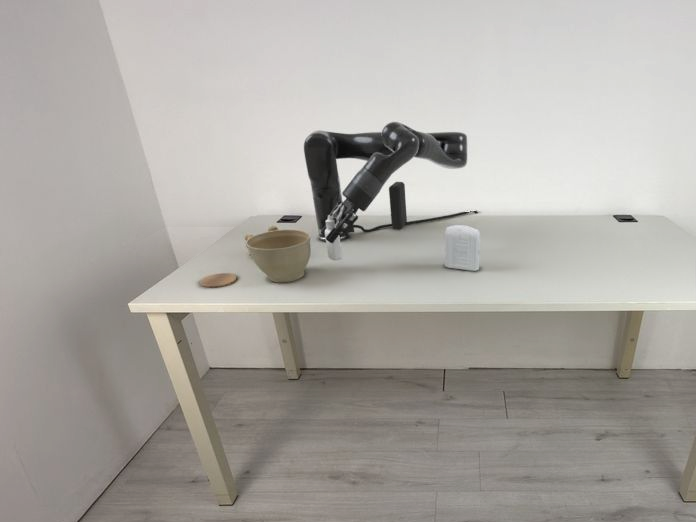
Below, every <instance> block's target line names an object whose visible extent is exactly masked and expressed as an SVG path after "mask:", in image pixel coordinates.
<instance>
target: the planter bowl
mask: <svg viewBox="0 0 696 522" xmlns="http://www.w3.org/2000/svg"><path fill="white" fill-rule="evenodd" d="M245 243H246V244H245V245H247V247H248V248H247V247H246V248H247V250H248V252H250V255H251V256H250V257H251V259H252V261H253V263H254V264H255V265H256V267H257V268H258V269H259V270H260V271H261V272H262V273H264V274H265V275H266V276H267V278H268V280H269V281H271V282H274V283H289V282H294V281H297V280H300V279H301V278H302V277H303V276H305V270H306V268H307V266H308V264H309V261H310V257H311V250H312V249H311V235H310V234H309V233H308V232H306V231H304V230H300V229H298V230H297V229H279V230H276V231H270V232H268V231H266V232H261V233H258V234H254V235H253V236H252V237H251V238H249V239H248V240H247V241H246V240H245Z"/></svg>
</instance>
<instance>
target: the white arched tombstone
mask: <svg viewBox="0 0 696 522" xmlns="http://www.w3.org/2000/svg"><path fill="white" fill-rule="evenodd" d="M480 252H481V232H480V230H479V229H477V228H476V227H472V226H469V225H463V224H457V225H456V224H455V225H450V226H447V227H446V228H445V232H444V253H445V254H444V263H445V264H444V265H445V267H446V268H450V269H456V270H457V269H458V270H464V271H473V272H477V271H479V269H480V255H481V253H480Z"/></svg>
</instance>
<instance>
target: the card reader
mask: <svg viewBox="0 0 696 522" xmlns="http://www.w3.org/2000/svg"><path fill="white" fill-rule="evenodd" d="M405 186H406V184H405V182H403V181H395V182H394V183H392V184H391V185H390V186H389V187H388V195H389V196H388V197H389V207H390V208H389V209H390V221H391V223H390V224H392V229H393V230H402V229H403V228H404V226H406V225H405V222H408V218H407V203H406V202H407V201H406V187H405Z"/></svg>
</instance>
